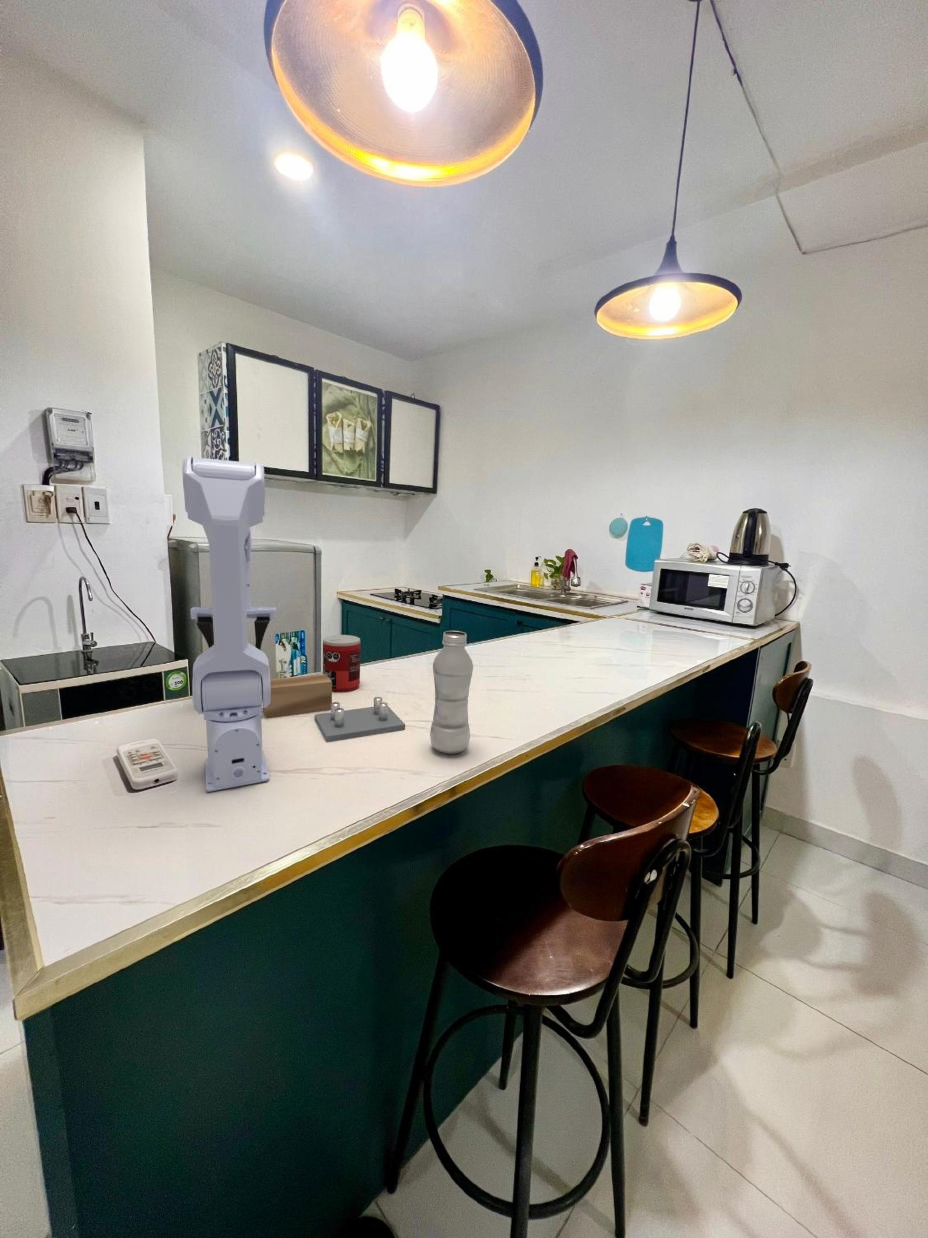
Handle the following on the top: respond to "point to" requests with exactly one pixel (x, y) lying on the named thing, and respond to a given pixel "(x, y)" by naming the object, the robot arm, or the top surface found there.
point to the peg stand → (358, 721)
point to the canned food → (342, 662)
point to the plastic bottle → (451, 695)
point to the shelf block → (299, 695)
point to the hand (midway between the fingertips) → (236, 655)
